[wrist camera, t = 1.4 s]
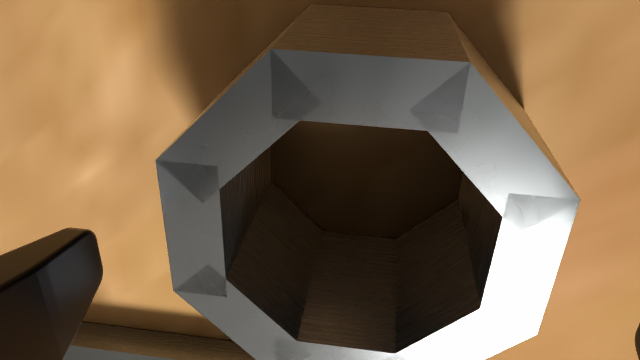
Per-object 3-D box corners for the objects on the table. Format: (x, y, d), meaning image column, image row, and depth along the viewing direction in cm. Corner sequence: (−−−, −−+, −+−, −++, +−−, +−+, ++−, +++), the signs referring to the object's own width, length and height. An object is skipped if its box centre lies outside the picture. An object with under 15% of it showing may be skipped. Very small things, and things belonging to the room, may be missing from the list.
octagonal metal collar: (547, 17, 10) (621, 72, 7) (483, 281, 14) (513, 407, 10) (219, -2, 11) (138, 39, 8) (234, 254, 15) (183, 363, 11)
